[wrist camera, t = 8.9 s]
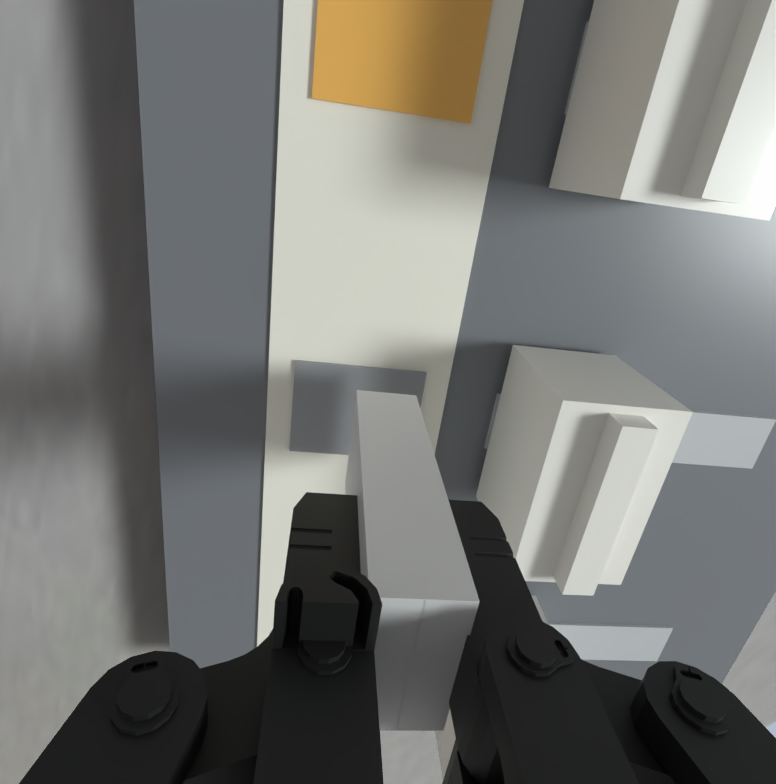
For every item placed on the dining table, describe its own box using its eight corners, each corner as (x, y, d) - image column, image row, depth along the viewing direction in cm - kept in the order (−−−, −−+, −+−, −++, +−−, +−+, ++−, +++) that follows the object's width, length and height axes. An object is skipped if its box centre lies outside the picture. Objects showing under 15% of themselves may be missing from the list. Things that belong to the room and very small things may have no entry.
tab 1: (747, -48, 11) (960, -154, 7) (663, 204, 13) (794, 224, 9) (612, -78, 10) (764, -207, 7) (548, 187, 12) (637, 202, 9)
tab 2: (615, 355, 14) (710, 425, 11) (566, 502, 16) (632, 603, 13) (513, 344, 14) (574, 413, 10) (476, 496, 16) (516, 599, 12)
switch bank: (1013, 29, 14) (1124, 8, 12) (686, 653, 24) (718, 699, 22) (157, -153, 11) (116, -221, 9) (186, 642, 21) (170, 694, 19)
